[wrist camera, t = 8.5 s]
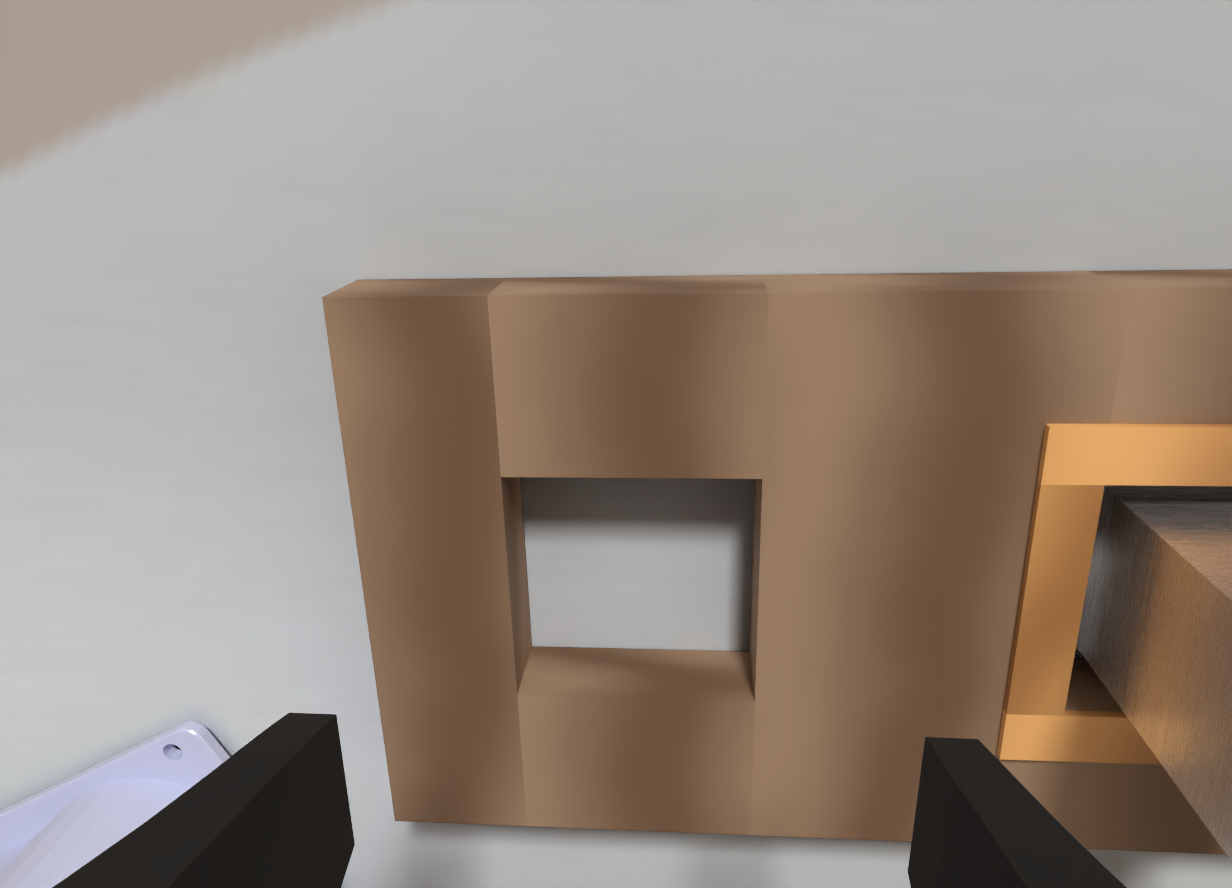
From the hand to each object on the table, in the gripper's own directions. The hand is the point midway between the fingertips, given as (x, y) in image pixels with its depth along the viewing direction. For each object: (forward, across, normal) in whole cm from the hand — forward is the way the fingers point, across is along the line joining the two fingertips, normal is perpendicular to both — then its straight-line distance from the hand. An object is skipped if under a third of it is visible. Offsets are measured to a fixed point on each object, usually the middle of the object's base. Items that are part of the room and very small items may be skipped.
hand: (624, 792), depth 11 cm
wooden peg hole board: (+10, -6, +2) cm, 12 cm away
